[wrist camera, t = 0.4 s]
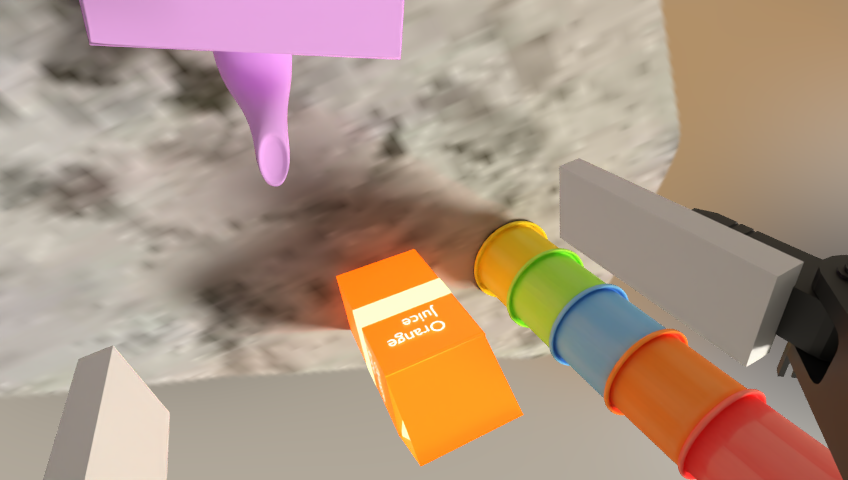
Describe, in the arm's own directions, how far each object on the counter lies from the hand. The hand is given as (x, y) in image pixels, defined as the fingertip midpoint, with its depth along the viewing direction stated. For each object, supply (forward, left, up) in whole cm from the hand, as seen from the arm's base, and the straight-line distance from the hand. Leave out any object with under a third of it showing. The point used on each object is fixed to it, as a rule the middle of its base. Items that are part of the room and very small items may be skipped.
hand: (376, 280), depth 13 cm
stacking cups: (+26, +21, -28) cm, 43 cm away
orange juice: (+23, +5, -28) cm, 36 cm away
